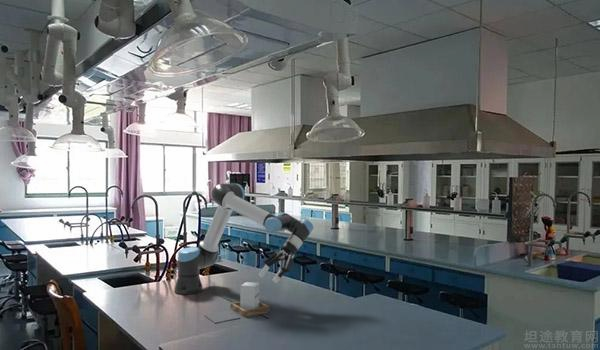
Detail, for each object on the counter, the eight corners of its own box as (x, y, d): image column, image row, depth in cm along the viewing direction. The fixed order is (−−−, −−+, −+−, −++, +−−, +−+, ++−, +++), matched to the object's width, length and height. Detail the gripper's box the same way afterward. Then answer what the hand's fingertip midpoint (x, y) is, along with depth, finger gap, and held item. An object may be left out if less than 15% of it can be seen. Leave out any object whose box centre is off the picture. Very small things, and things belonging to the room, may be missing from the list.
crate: (230, 308, 199) (230, 303, 199) (254, 304, 206) (254, 298, 206) (244, 317, 186) (244, 311, 186) (269, 312, 194) (269, 306, 194)
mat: (204, 315, 188) (204, 315, 188) (228, 311, 195) (228, 310, 195) (215, 323, 178) (215, 322, 178) (239, 318, 185) (240, 317, 185)
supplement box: (254, 313, 192) (254, 286, 192) (239, 312, 193) (239, 285, 194) (259, 308, 199) (259, 282, 199) (244, 307, 201) (245, 281, 201)
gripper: (310, 253, 201) (285, 289, 193) (282, 246, 222) (258, 278, 213) (302, 243, 198) (275, 279, 189) (274, 237, 219) (249, 269, 210)
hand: (266, 279), depth 201 cm, fingers open, 13 cm apart
